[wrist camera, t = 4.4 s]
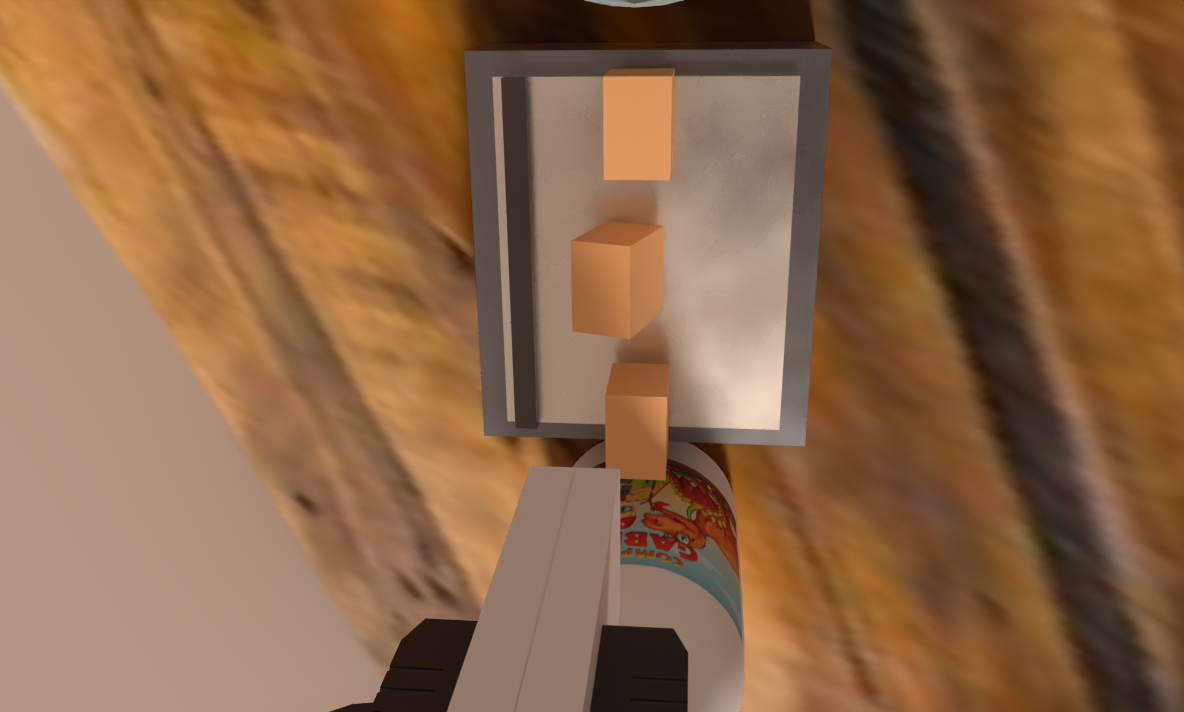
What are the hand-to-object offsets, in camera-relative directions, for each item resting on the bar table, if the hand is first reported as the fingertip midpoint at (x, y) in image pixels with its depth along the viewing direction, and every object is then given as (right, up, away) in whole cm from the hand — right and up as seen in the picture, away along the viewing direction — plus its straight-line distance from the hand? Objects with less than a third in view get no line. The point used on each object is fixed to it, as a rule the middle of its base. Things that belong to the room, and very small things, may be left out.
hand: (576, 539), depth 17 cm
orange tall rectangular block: (+2, +11, +16) cm, 19 cm away
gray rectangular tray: (+3, +8, +23) cm, 24 cm away
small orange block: (+2, +6, +18) cm, 19 cm away
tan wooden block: (+2, +2, +19) cm, 20 cm away
